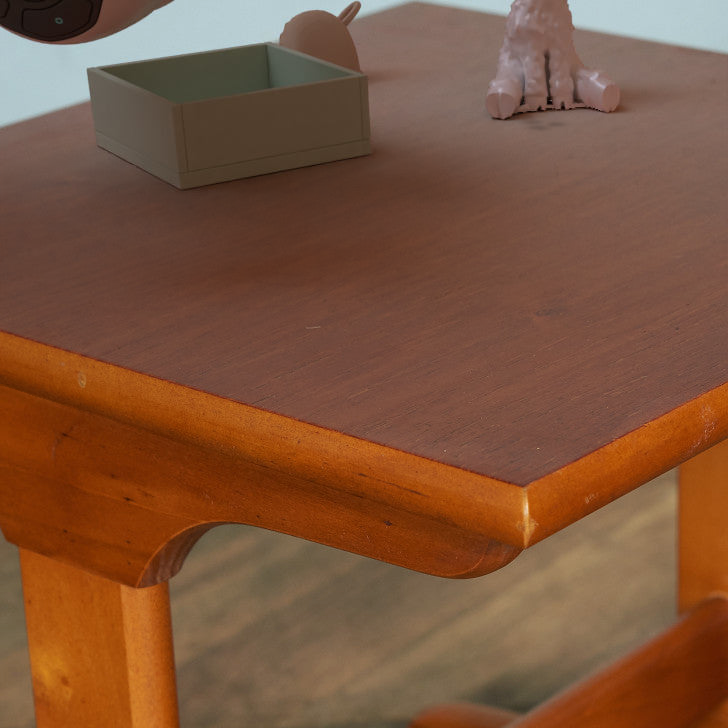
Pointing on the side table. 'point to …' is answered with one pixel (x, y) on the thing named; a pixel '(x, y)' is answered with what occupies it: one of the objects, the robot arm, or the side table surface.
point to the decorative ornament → (323, 36)
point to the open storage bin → (229, 113)
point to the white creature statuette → (545, 64)
